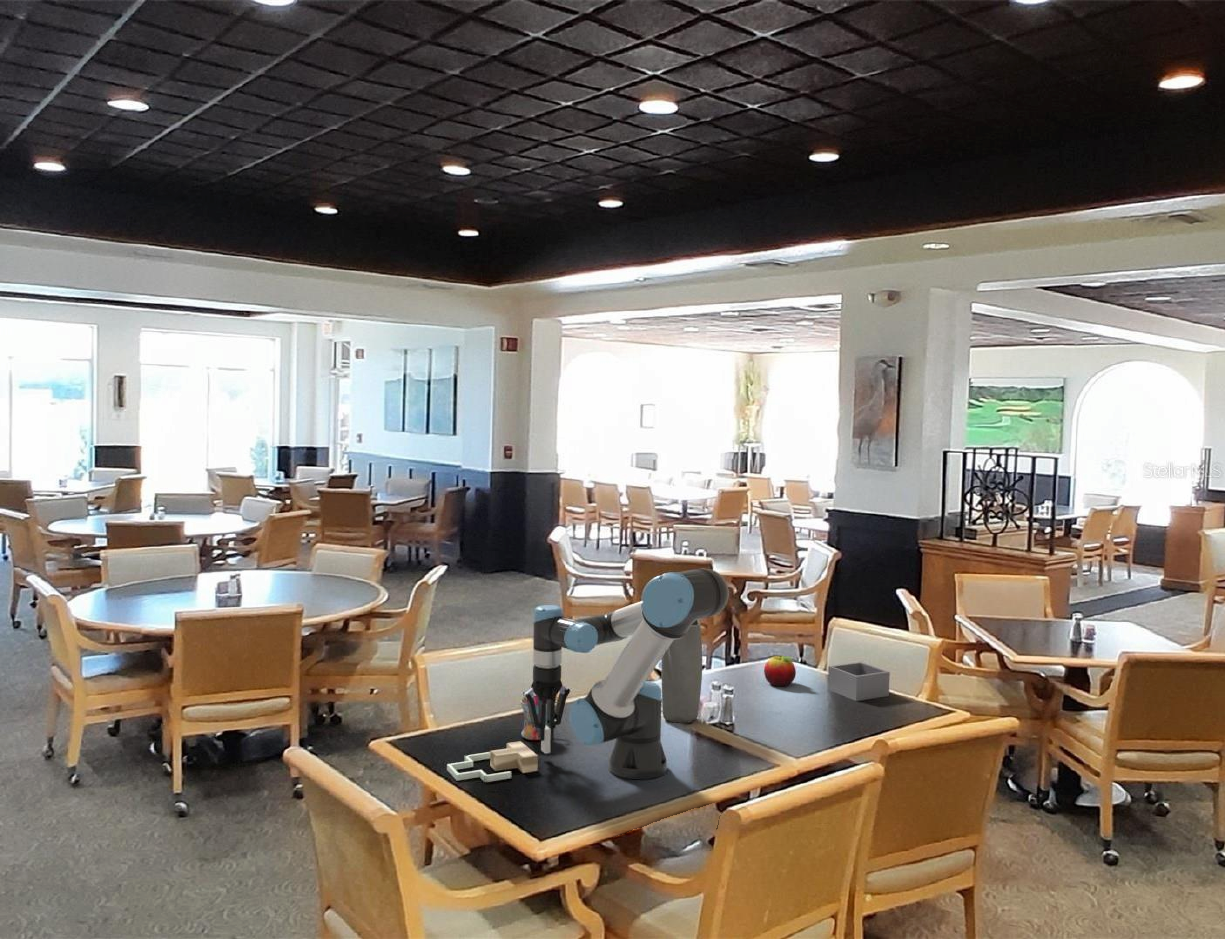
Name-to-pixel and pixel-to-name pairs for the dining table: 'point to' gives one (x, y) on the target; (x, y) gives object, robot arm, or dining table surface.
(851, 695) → the box
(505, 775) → the jig
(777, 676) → the fruit
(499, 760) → the t block
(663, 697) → the vase
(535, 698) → the mug
